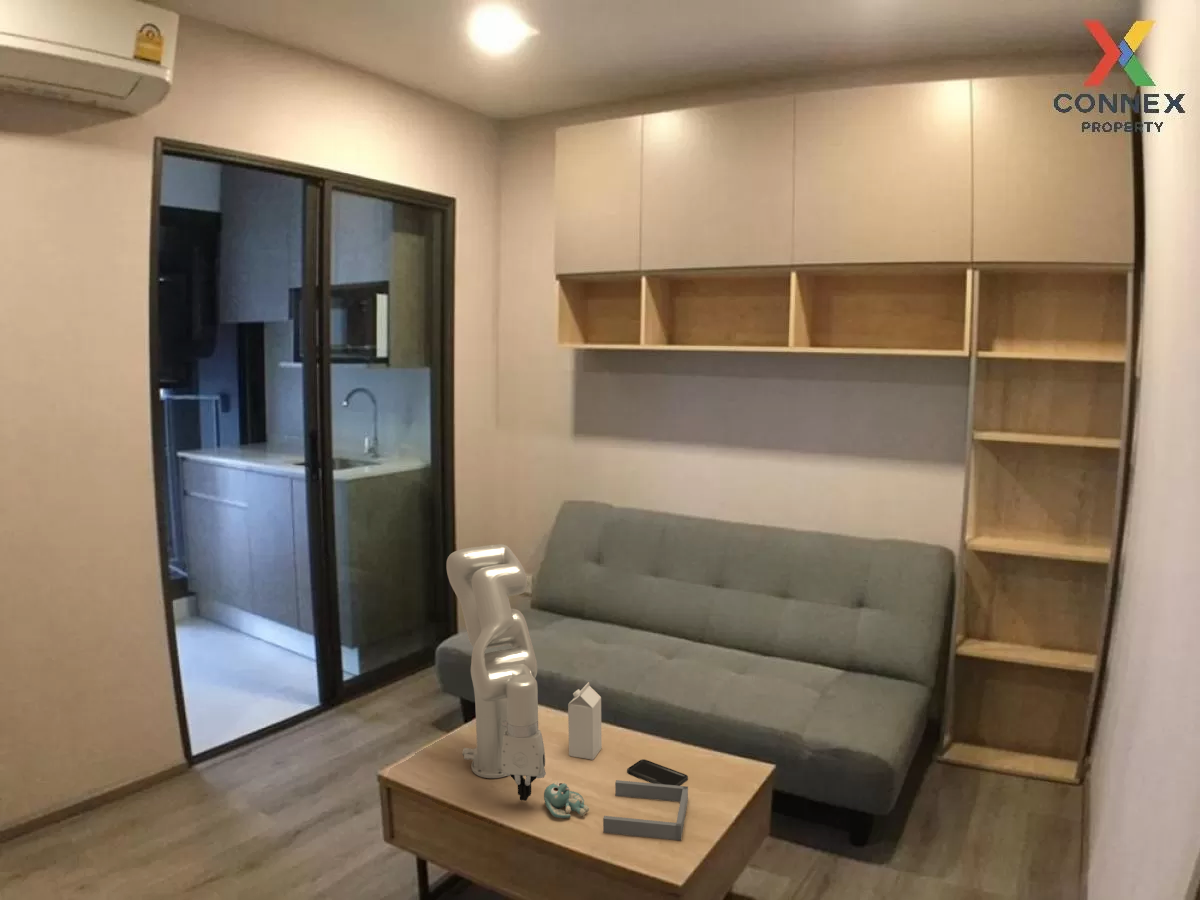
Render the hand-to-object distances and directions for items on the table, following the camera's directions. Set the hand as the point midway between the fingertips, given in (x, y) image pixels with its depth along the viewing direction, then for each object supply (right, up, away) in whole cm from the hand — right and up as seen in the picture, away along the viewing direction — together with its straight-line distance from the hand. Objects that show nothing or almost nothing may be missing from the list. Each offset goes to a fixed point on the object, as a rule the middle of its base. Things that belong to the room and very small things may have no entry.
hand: (524, 797), depth 212 cm
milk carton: (+14, +2, +26) cm, 30 cm away
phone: (+33, 0, +13) cm, 36 cm away
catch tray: (+30, -2, -5) cm, 30 cm away
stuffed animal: (+10, -2, -2) cm, 11 cm away
